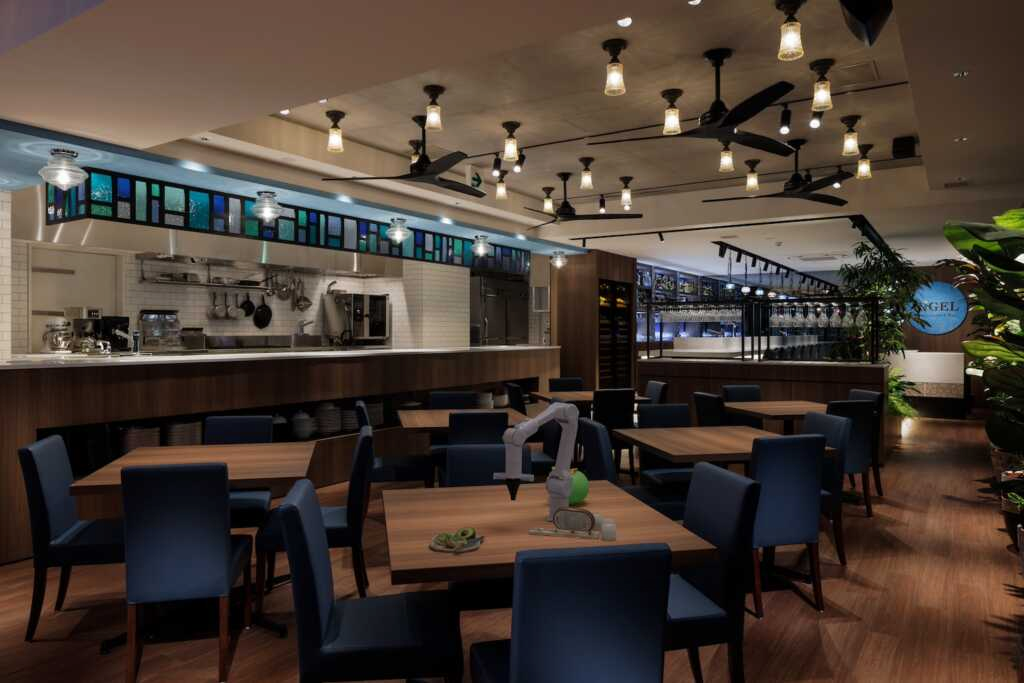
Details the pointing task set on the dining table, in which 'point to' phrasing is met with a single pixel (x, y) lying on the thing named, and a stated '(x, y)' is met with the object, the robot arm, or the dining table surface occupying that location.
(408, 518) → the dining table surface
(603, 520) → the cylindrical block
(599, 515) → the cylindrical block
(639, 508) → the dining table surface
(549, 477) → the robot arm
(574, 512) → the tin
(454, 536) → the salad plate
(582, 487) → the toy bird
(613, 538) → the cylindrical block
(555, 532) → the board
